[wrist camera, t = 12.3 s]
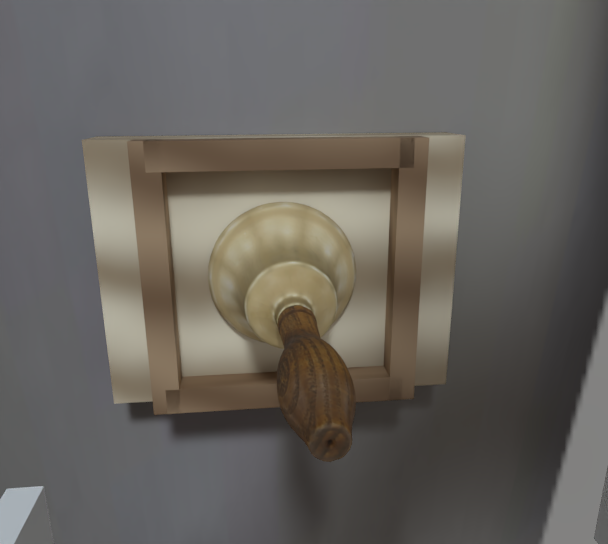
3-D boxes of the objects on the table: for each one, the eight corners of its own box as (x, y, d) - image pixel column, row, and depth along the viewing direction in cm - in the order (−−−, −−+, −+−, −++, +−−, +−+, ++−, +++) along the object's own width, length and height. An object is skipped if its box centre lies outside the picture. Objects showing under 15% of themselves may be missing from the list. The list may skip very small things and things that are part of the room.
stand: (97, 136, 30) (72, 142, 26) (445, 132, 32) (476, 136, 28) (124, 379, 35) (108, 417, 31) (430, 362, 37) (454, 396, 33)
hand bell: (347, 190, 30) (455, 282, 15) (362, 329, 32) (468, 531, 17) (194, 213, 29) (142, 334, 14) (222, 353, 32) (203, 582, 17)
